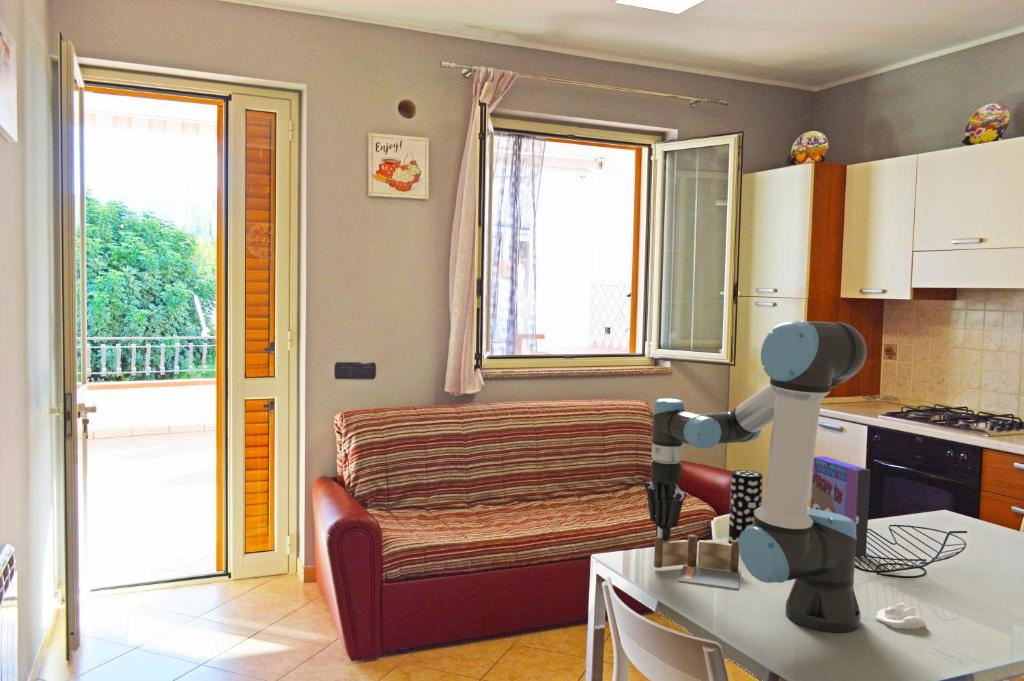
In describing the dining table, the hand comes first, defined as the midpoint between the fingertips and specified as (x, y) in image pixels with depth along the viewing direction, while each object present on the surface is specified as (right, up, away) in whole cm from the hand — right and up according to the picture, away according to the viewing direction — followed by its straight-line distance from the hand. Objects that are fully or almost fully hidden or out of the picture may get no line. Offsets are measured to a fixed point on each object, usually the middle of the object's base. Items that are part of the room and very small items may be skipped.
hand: (662, 551), depth 201 cm
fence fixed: (+13, -4, 0) cm, 13 cm away
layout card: (+11, -5, -5) cm, 13 cm away
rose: (+46, -8, -30) cm, 55 cm away
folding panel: (+2, -3, -1) cm, 4 cm away
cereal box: (+53, -5, +21) cm, 57 cm away
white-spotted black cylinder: (+27, -4, +22) cm, 35 cm away
